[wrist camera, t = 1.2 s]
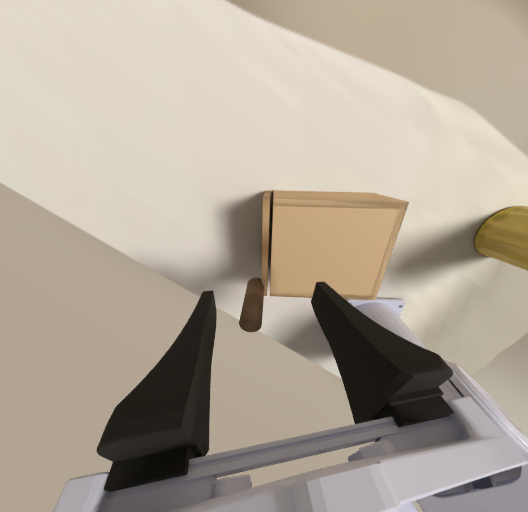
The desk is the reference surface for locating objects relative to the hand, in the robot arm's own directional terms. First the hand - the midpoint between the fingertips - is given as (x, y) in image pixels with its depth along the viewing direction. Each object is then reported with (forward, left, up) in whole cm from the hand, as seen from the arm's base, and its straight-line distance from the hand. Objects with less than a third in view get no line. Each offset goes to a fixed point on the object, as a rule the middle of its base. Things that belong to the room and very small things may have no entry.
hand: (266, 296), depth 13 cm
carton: (+1, -6, -11) cm, 13 cm away
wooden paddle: (+1, +1, -11) cm, 11 cm away
